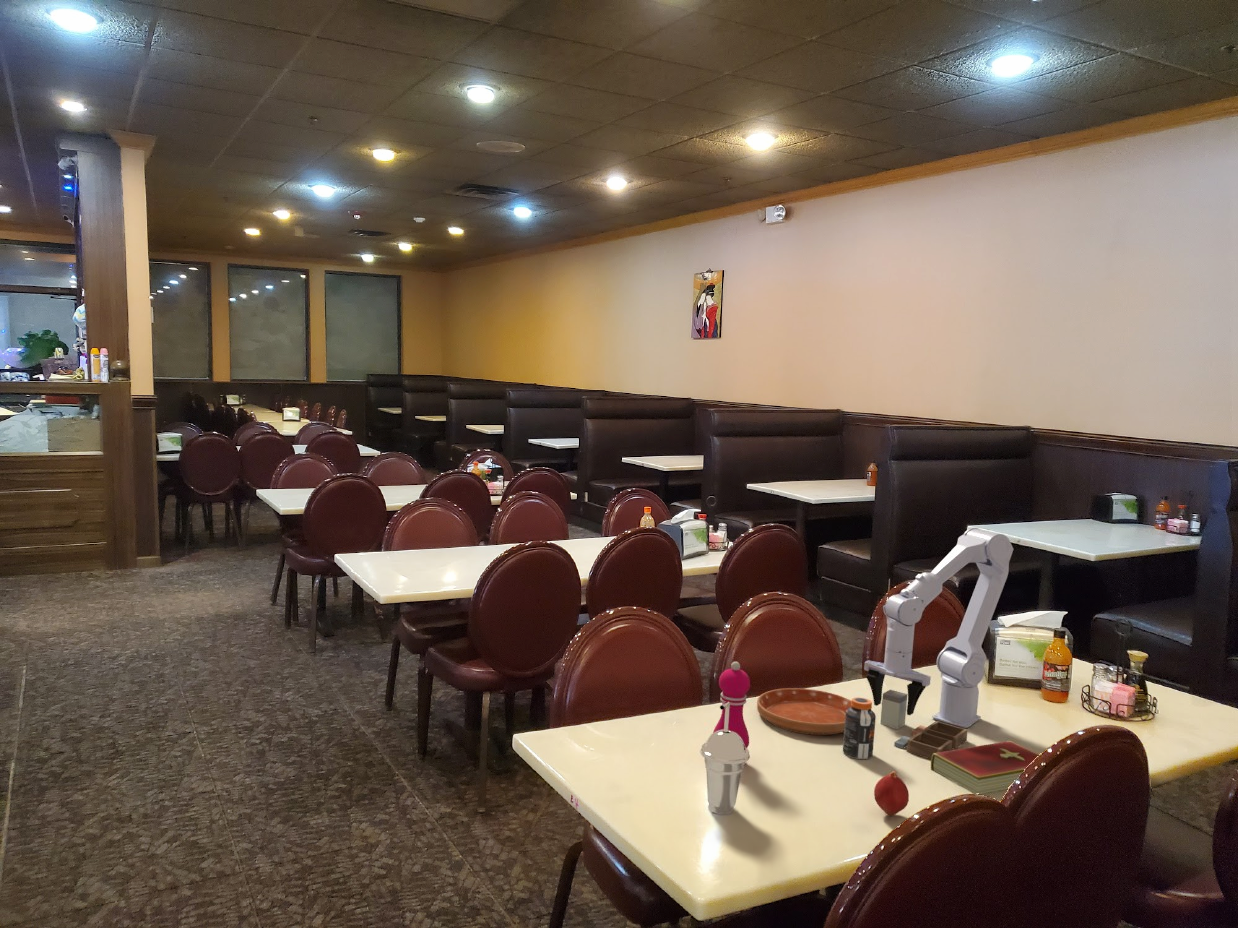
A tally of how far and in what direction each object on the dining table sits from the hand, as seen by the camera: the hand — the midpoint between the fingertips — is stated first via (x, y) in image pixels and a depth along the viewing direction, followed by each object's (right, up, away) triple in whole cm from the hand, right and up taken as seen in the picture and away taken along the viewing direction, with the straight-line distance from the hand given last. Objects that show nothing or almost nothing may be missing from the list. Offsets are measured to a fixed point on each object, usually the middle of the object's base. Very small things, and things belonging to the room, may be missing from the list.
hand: (893, 708), depth 201 cm
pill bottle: (-13, -5, -18) cm, 22 cm away
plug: (0, -4, 0) cm, 4 cm away
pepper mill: (-40, -4, -25) cm, 47 cm away
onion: (-14, -7, -44) cm, 47 cm away
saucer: (-19, -3, 0) cm, 19 cm away
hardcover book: (+12, -7, -24) cm, 28 cm away
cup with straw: (-44, -5, -45) cm, 63 cm away
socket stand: (+5, -5, -10) cm, 12 cm away
